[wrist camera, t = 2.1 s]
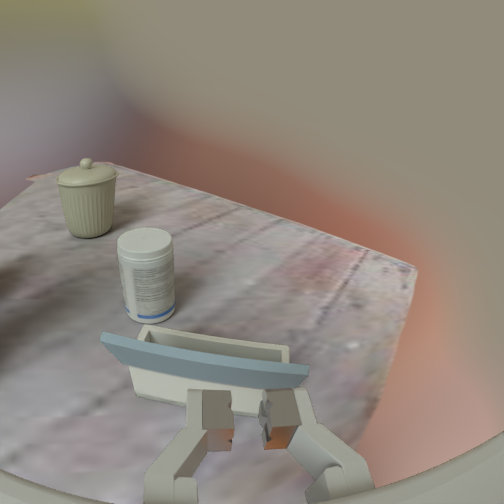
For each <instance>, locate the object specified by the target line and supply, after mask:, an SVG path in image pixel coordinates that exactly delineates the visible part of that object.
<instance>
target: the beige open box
mask: <svg viewBox="0 0 504 504" xmlns="http://www.w3.org/2000/svg"><path fill="white" fill-rule="evenodd" d="M137 340H141V341H145V342H150V343H155V344H160V345H165V346H170V347H175V348H181V349H186V350H192V351H198V352H204V353H210V354H217V355H224V356H231V357H238V358H246V359H254V360H262V361H271V362H281V363H289V346H286V345H276V344H268V343H259V342H251V341H243V340H236V339H229V338H222V337H215V336H208V335H202V334H196V333H190V332H184V331H178V330H173V329H167V328H162V327H157V326H152V325H147V324H144V326H143V328H142V330H141V332H140V334H139V336H138V338H137ZM129 370H130V374H131V378H132V382H133V386H134V389H135V393H136V396H138V397H143V398H147V399H151V400H155V401H160V402H164V403H169V404H174V405H178V406H184V407H186V399H187V389H205V390H231V396H232V404H231V410H232V411H233V415H241V416H250V417H259V405H260V401H262V400H263V399H262V393H263V390H261V389H252V388H244V387H236V386H228V385H221V384H215V383H208V382H202V381H196V380H191V379H185V378H180V377H175V376H170V375H165V374H160V373H156V372H151V371H147V370H142V369H138V368H134V367H130V366H129Z"/></svg>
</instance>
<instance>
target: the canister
mask: <svg viewBox="0 0 504 504" xmlns="http://www.w3.org/2000/svg"><path fill="white" fill-rule="evenodd" d="M117 176H118V171H117V170H115V169H113V168H112V167H109V166H106V165H92V160H91V159H90V158H85V159H82V160H81V162H80V166H79V167H74V168H71V169H68V170H66V171H64V172H62V173H61V174H60V175H59V176H58V177H57V178H56V180H55V181H56V183H57V184H58V187H59V193H60V197H61V202H62V207H63V212H64V216H65V220H66V223H67V227H68V229H69V231H70V232H71V234H72V235H74V236H76V237H79V238H92V237H97V236H100V235H103V234H105V233H106V232H107V231H108V230H109V229H110V228H111V225H112V222H113V212H114V198H115V184H116V177H117Z"/></svg>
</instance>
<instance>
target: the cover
mask: <svg viewBox="0 0 504 504" xmlns="http://www.w3.org/2000/svg"><path fill="white" fill-rule="evenodd" d="M100 342H101V343H102V344H103V345H104V346H105V347H106V348H107V349H108V350H109V351H110V352H111V353H112V354H113V355H114V356H115V357H116V358H117V359H118V360H119V361H120V362H121V363H123V365H126V366H130V367H134V368H138V369H142V370H147V371H151V372H156V373H160V374H165V375H170V376H175V377H180V378H185V379H191V380H196V381H202V382H208V383H215V384H221V385H228V386H236V387H244V388H252V389H261V390H264V389H279V388H296V387H297V386H298V385H299V384H300V383H301V382H302V381H303V380H304V379H305V378H306V377H307V376H308V375H309V365H303V364H292V363H281V362H271V361H262V360H254V359H246V358H238V357H231V356H224V355H217V354H210V353H204V352H198V351H192V350H186V349H181V348H175V347H170V346H165V345H160V344H155V343H150V342H145V341H141V340H136V339H132V338H127V337H123V336H119V335H115V334H110V333H106V332H102V335H101V338H100Z"/></svg>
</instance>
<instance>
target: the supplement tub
mask: <svg viewBox="0 0 504 504" xmlns="http://www.w3.org/2000/svg"><path fill="white" fill-rule="evenodd" d="M117 246H118V247H117V251H118V252H117V253H118V262H119V269H120V277H121V284H122V290H123V297H124V303H125V308H126V312H127V314H128V315H129V316H130V317H131V318H132V319H133V320H135V321H137V322H140V323H146V324H154V323H159V322H162V321H164V320H166V319H167V318H169V317H170V316H171V315H172V314H173V312H174V310H175V288H174V256H173V244H172V237H171V235H170V234H169V233H168V232H166V231H164V230H161V229H157V228H137V229H133V230H130V231H127V232H125V233H123V234H122V235H121V236H120V237H119V238H118V241H117Z"/></svg>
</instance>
